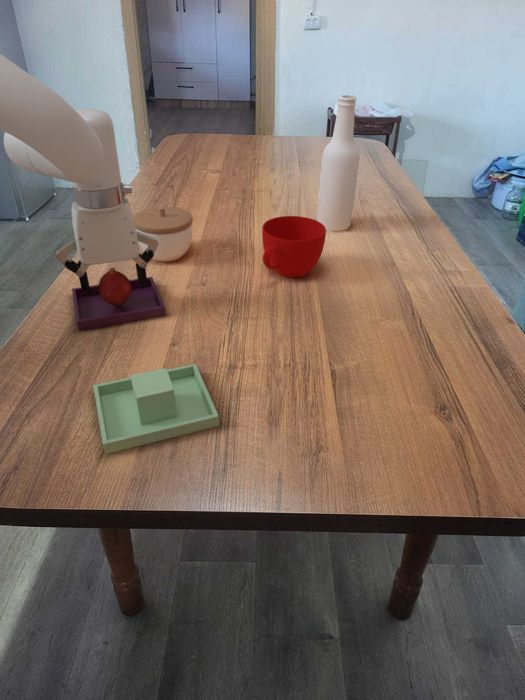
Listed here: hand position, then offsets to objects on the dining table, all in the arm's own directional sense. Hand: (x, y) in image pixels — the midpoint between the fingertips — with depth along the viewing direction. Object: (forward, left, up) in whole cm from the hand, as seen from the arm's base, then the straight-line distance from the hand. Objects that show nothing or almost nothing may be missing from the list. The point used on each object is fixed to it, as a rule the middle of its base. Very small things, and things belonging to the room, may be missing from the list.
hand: (115, 288), depth 89 cm
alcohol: (+57, +23, -4) cm, 62 cm away
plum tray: (0, 0, -4) cm, 4 cm away
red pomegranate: (0, 0, -4) cm, 4 cm away
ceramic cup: (+35, +2, -4) cm, 35 cm away
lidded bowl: (+13, +19, -4) cm, 23 cm away
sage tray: (+1, -30, -4) cm, 30 cm away
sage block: (+1, -30, -4) cm, 30 cm away
